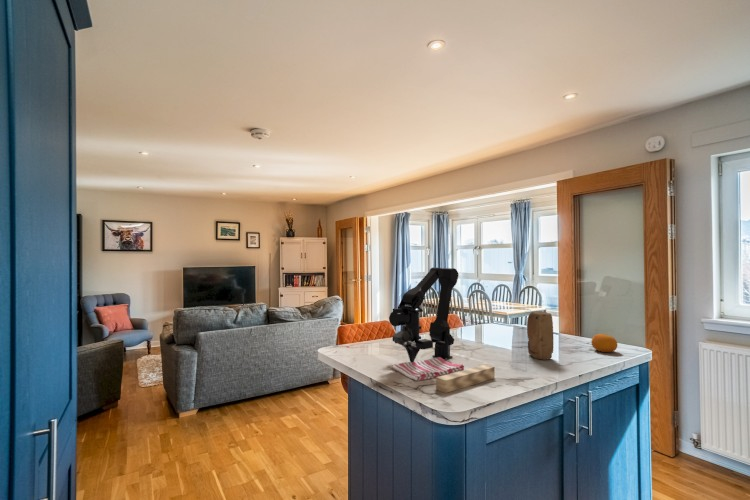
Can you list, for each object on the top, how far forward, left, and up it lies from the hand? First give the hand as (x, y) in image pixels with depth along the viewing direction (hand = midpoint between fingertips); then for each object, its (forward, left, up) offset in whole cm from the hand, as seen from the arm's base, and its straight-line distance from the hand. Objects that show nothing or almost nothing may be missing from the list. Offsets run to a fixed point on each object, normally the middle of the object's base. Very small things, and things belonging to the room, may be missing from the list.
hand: (411, 362), depth 153 cm
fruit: (-89, +36, -2) cm, 96 cm away
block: (-54, +24, -2) cm, 59 cm away
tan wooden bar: (0, +28, -1) cm, 28 cm away
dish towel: (0, +9, -2) cm, 9 cm away
